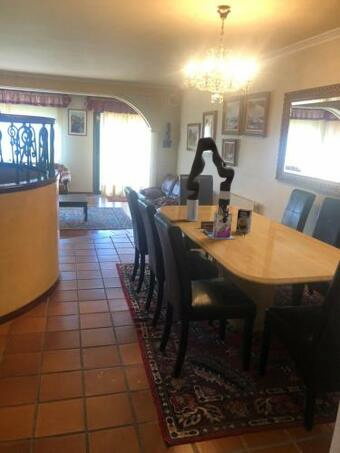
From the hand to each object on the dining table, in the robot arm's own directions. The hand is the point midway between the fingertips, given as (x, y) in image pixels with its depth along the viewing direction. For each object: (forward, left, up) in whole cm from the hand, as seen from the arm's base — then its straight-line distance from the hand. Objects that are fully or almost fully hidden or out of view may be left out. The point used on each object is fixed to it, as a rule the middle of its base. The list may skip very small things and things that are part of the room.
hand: (222, 221), depth 247 cm
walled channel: (-22, 0, -11) cm, 25 cm away
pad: (0, 0, -11) cm, 11 cm away
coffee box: (-16, +22, -11) cm, 30 cm away
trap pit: (-11, 0, -11) cm, 15 cm away
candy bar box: (0, 0, -10) cm, 10 cm away
